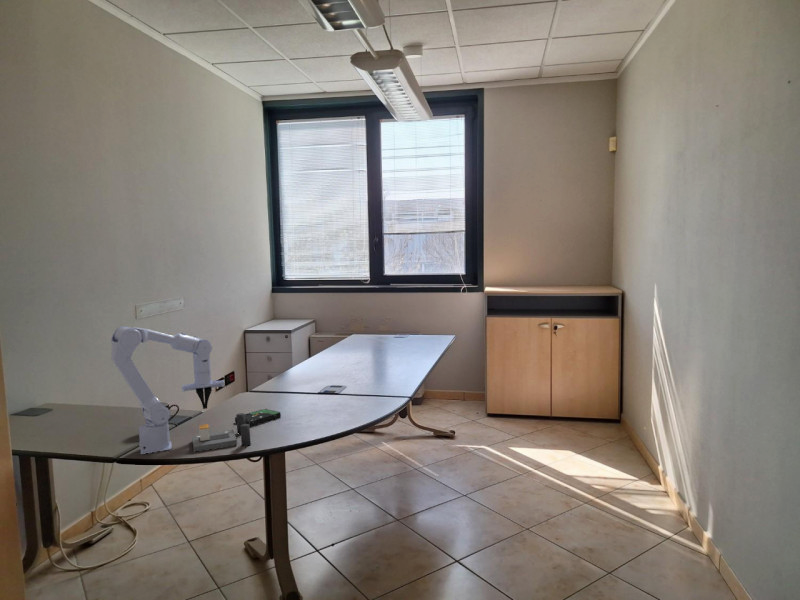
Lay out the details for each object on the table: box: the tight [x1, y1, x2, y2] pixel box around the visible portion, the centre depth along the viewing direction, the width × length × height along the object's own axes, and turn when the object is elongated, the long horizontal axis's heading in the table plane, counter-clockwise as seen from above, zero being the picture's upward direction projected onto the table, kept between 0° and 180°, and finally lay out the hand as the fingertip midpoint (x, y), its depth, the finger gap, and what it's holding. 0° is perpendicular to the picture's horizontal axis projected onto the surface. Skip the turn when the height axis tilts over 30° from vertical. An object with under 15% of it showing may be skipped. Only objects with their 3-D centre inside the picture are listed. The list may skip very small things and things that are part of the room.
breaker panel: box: [191, 429, 238, 452], centre depth 189 cm, size 14×12×2 cm
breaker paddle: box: [198, 423, 210, 441], centre depth 187 cm, size 3×4×4 cm
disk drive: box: [234, 408, 282, 428], centre depth 214 cm, size 10×3×15 cm
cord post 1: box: [235, 412, 246, 435], centre depth 199 cm, size 3×3×7 cm
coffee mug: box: [160, 401, 180, 423], centre depth 205 cm, size 12×9×10 cm
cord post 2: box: [240, 424, 252, 447], centre depth 186 cm, size 3×3×7 cm
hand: (205, 408), depth 196 cm, fingers closed
